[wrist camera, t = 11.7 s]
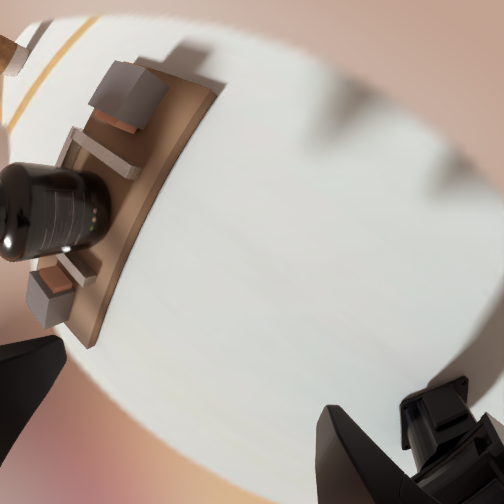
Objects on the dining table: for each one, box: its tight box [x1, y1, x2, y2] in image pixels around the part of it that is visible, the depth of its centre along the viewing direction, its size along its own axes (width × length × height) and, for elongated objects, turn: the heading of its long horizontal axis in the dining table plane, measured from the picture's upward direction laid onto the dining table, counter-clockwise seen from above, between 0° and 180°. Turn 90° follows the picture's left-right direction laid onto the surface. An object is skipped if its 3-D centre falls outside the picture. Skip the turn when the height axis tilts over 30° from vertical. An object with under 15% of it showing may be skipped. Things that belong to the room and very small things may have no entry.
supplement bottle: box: [0, 162, 111, 262], centre depth 14 cm, size 7×7×12 cm
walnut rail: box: [26, 61, 217, 349], centre depth 19 cm, size 26×11×5 cm, turn 147°
